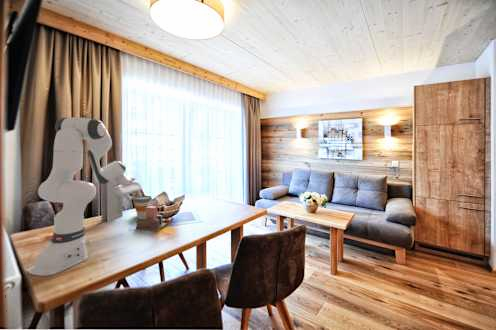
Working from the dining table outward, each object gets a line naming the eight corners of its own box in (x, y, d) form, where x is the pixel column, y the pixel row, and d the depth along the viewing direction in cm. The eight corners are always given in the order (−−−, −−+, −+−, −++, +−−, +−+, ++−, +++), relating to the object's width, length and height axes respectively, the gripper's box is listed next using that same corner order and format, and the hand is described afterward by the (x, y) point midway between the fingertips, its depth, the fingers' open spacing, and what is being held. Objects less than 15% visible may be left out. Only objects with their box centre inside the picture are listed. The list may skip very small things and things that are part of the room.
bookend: (161, 224, 153) (161, 215, 153) (148, 222, 155) (148, 214, 154) (162, 223, 154) (162, 215, 154) (149, 222, 156) (149, 214, 156)
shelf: (157, 231, 144) (157, 220, 143) (135, 229, 146) (135, 218, 146) (166, 225, 155) (166, 215, 155) (146, 223, 158) (146, 213, 157)
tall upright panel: (107, 221, 158) (106, 181, 156) (101, 221, 160) (100, 180, 157) (122, 215, 172) (122, 178, 170) (116, 215, 173) (116, 178, 171)
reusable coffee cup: (144, 212, 183) (144, 195, 182) (155, 215, 177) (155, 197, 176) (131, 216, 172) (130, 198, 170) (142, 219, 166) (141, 200, 165)
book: (153, 226, 148) (153, 208, 147) (145, 225, 149) (145, 207, 148) (157, 224, 152) (157, 206, 151) (149, 223, 153) (149, 205, 152)
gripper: (115, 182, 141) (128, 197, 140) (136, 177, 161) (148, 191, 160) (109, 188, 142) (122, 204, 141) (130, 183, 162) (142, 197, 161)
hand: (136, 197), depth 151 cm, fingers open, 8 cm apart
